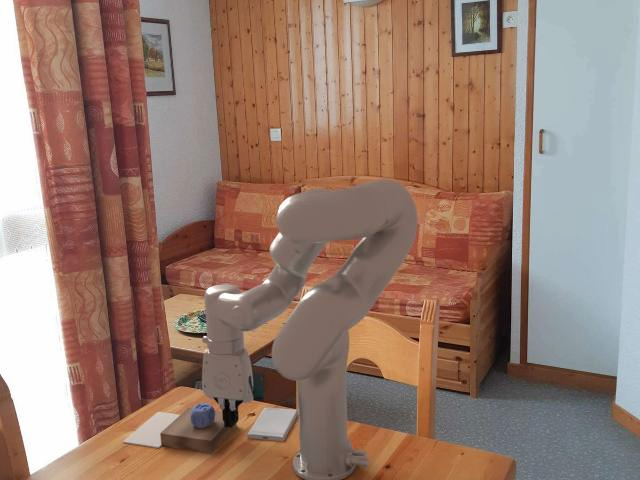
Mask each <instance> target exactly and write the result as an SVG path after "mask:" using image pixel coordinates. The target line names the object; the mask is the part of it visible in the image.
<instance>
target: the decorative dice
mask: <svg viewBox="0 0 640 480" xmlns="http://www.w3.org/2000/svg"><path fill="white" fill-rule="evenodd" d="M192 408H193V409H192V411H191V422H192V424H193V425H194V426H195V427H197V428H207V427H209V426H211V425H212V424H213V422H214V419H215V411H216V410H215V407H214V406H213V405H212V404H211V403H207V402H202V403H198V404H195V405H194V406H193V407H192Z"/></svg>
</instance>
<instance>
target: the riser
mask: <svg viewBox="0 0 640 480" xmlns="http://www.w3.org/2000/svg"><path fill="white" fill-rule="evenodd" d="M192 409H193V407H187V408H186V409H185V410H184V411H183V412H182V413H181V414H179V415H180V416H179V417H178V418H177V419H175V420H174V421H173V422H172V423H171V424H170V425H169V426H168V427H167V428H165V429H164V430H163V431H162V432H161V433H160V436H161V447H165V448H172V449H178V450H185V451H192V452H198V453H203V454H204V453H205V454H210V455H212V454H213V453H214V452H215V451H216V450H217V449H218V447H219V446H220V445H221V444H222V443H223V442H224V441H225V440H226V439H227V438H228V437H229V436H230V434H232V432H233V431H234V430H235V429H236V428H237V426H238V424H237V423H238V422H237V423H236V424H235V425H234V426H233V427H232V428H229V427H224V421H223V415H222V411H217V410H215V419H214V422H213V424H212V425H211V426H209V427H207V428H197V427H195V426H194V425H193V424H192V422H191V411H192Z"/></svg>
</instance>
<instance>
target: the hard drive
mask: <svg viewBox="0 0 640 480" xmlns="http://www.w3.org/2000/svg"><path fill="white" fill-rule="evenodd" d="M297 417H298V409H294V410H293V408H280V407H279V408H277V407H264V408H263V409H262V411H261V412H260V413H259V416H258V417H257V419H256V420H255V422H254V423H253V425H252V426H251V428H250V429H249V432H248V433H247V434H246V436H247V437H246V438H247V439H252V440H253V439H254V440H263V441H264V440H265V441H266V440H267V441H274V442H275V441H278V442H284V441H285V439H286V437H287V435H288V434H289V431H290V430H291V428H292V426H293V424H294V422H295V421H296V418H297Z"/></svg>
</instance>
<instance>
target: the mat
mask: <svg viewBox="0 0 640 480" xmlns="http://www.w3.org/2000/svg"><path fill="white" fill-rule="evenodd" d="M180 415H181V414H177V413H170V412H163V411H157V412H156V413H154V414H153V415H152V416H151V417H150V418H149V419H147V421H145V422H144V423H143V424H141V425H140V426H139V427H138V428H137V429H135V430H134V431H133V432H132V433H131V434H129V435H128V436H127V437H126V438H125V439H123V440H122V444H123V443H124V444H130V445H135V446H140V447H141V446H142V447H147V448H153V449H160V448H161V447H162V446H161V436H160V433H161V432H162V431H163V430H164V429H165V428H167V427H168V426H169V425H170V424H171V423H172V422H173V421H174V420H175V419H177V418H178V417H179V416H180Z"/></svg>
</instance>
